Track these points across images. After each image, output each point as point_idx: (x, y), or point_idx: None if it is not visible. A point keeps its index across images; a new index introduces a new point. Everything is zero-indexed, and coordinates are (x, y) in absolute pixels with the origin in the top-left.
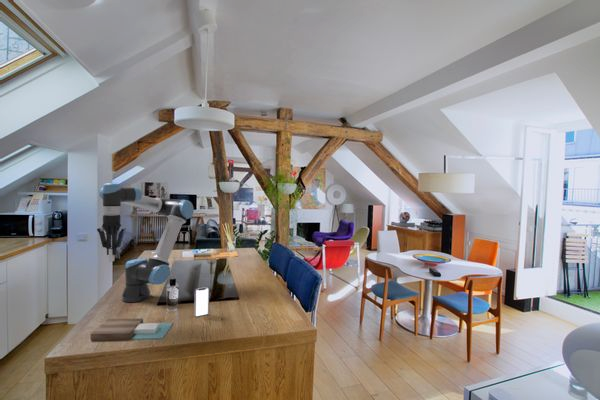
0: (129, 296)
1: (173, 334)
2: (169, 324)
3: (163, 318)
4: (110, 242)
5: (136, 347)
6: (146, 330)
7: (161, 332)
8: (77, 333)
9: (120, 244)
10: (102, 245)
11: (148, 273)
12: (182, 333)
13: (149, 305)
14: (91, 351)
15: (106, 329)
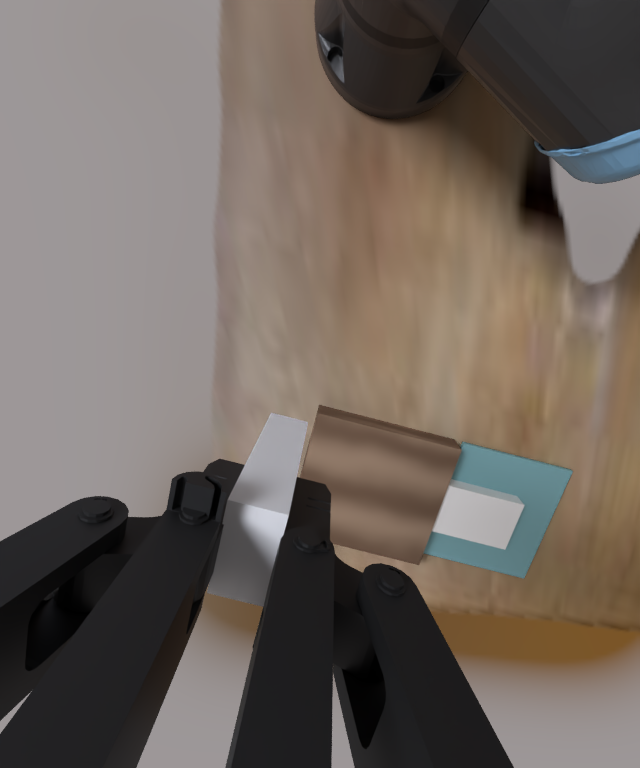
0: (368, 95)
1: (562, 554)
2: (558, 482)
3: (537, 404)
4: (173, 643)
5: (440, 601)
6: (474, 539)
7: (523, 539)
8: (226, 448)
9: (424, 633)
10: (44, 615)
11: (570, 126)
12: (594, 556)
13: (477, 212)
14: None
15: (332, 512)
